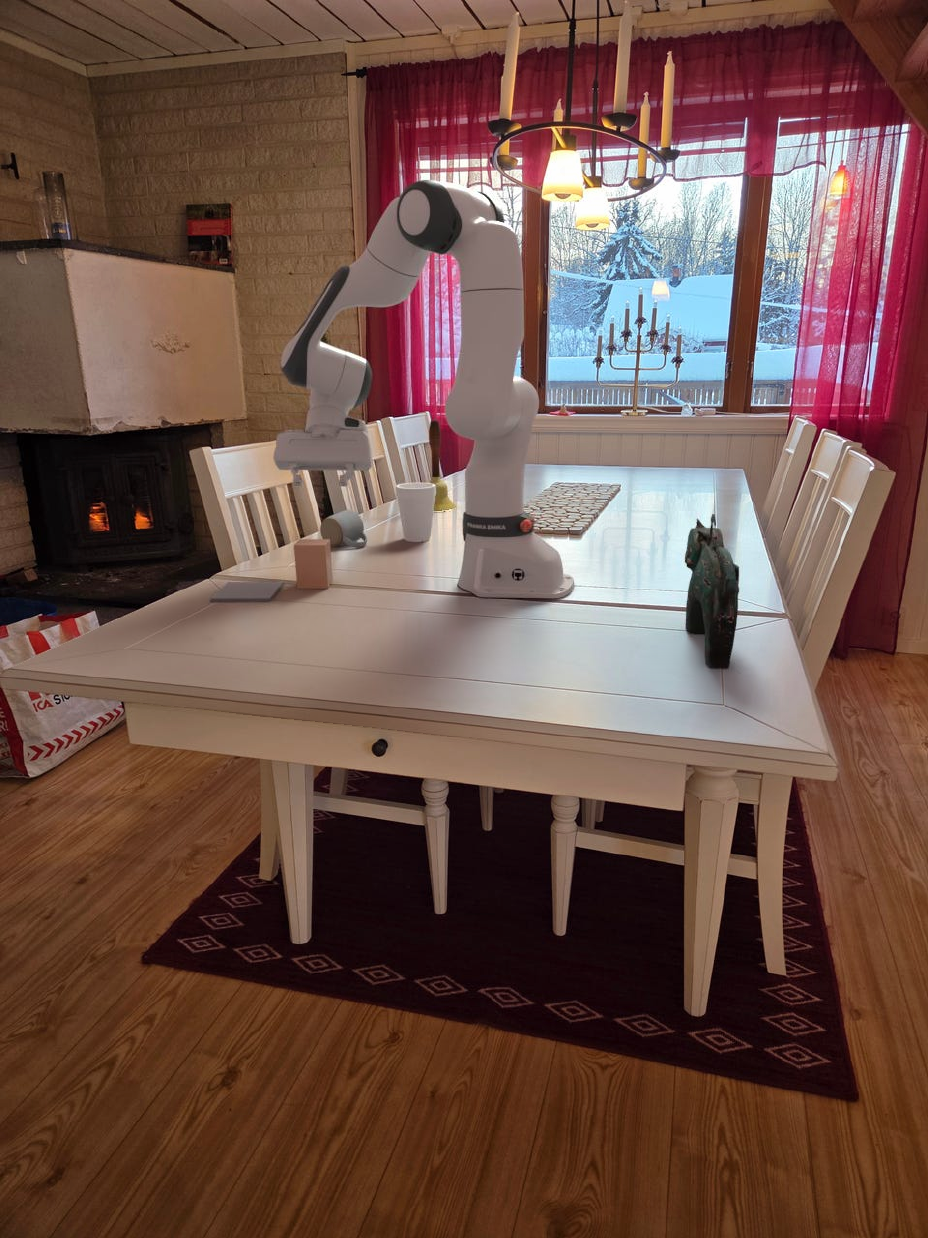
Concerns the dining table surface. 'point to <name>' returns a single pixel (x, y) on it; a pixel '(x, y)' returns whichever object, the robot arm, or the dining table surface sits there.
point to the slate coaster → (247, 591)
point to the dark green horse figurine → (712, 593)
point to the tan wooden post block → (313, 563)
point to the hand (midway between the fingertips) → (320, 484)
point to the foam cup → (416, 510)
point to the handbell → (441, 488)
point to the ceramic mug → (344, 529)
